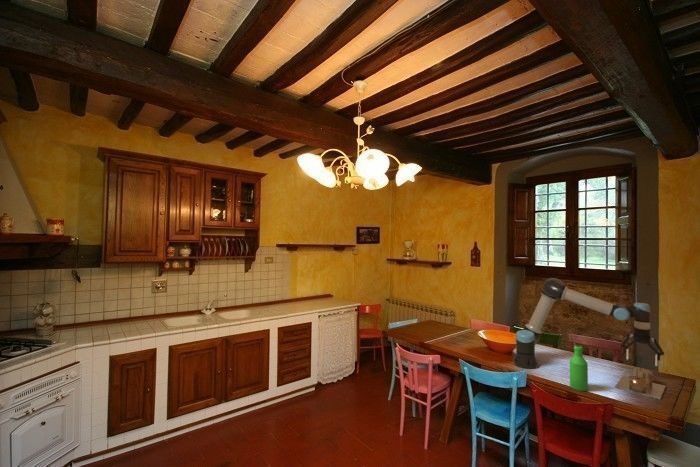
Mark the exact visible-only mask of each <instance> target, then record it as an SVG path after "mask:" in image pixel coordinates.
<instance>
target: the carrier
mask: <svg viewBox="0 0 700 467" xmlns="http://www.w3.org/2000/svg"><path fill="white" fill-rule="evenodd" d="M614 388H616V389H620V390H623V391H627V392H630V391H631V392H630V393H634V394H637V393H638V395H641V394H642V396H645V397H649V396H650V397H649V398H652V397H653V398H654V399H656V398H657V400H661V399H662V397H663V394H664V392H665V391H666V385H664V384H659V383H655V382H652V384H650V385H647V381H646V379H644V378H642V377H638V376H634V375H629V376H627V375H622V376H621V378H619V381H618V382H617V383H616V384H615V386H614Z"/></svg>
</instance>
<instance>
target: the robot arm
mask: <svg viewBox="0 0 700 467" xmlns="http://www.w3.org/2000/svg"><path fill="white" fill-rule="evenodd" d="M541 287H542V289H541V290H540V294H541V296H540V299H539V301H538V303H537V305H536V307H535V309H534V311H533V313H532V315H531V318H530V319H529V321H528V323H526V324H524V327H523V329H521V330H518V331H516V332H515V333H516V334H515V345H516V346H515V350H516V351H515V356H514V358H513V364H514V366H516V365H517V367H518V366H519V367H518V368H521V367H522V369H527V370H534V369H537V368H538V367H539V364H538V361H537V358H536V356H535V355H536V353H535V352H536V351H535V350H536V348H535V346H536V345H537V344H538V343H539V341H540V339H541V338H540V337H541V336H542V334H543V333H542V329H543V327H544V323H545V322H546V319H547V318H548V316H549V313H550V311H551V309H552V307H553V305H554V303H555V301H558V300H566V301H568V302H570V303H573V304H577V305H580V306H582V307H585V308H587V309H590V310H594V311H596V312H599V313H601V314H605V315H607V316H610V317H612V318H615V319H616V320H618V321H621V322H622V321H623V322H624V321H627V320H628V319H630V318H633V334H632V333H631V332H630V333H627V336H626V338H625V339H624V341H623V342H622V343H621V345H620V347H621V348H623V349H624V354H626V358H625V359H626V360H629V359H630V349H629V347H631V346H632V345H633V344H636V342H637V343H639V344H644V345H647V346H648V347H649V348H650V349H651V350H652V351H653V353H655V354H654V355H655V360H654V361H655V363H654V364H655V365H654V366H655V367H657V366H658V364H659V363H658V362H660V361H661V356H664V355H665V352H664V351H663V349H662V347H661V345H660V344H659V342H658V338H657V337H651V305H650V304H648V303H646V302H645V303H644V302H634V303H633V304H632V305H630V304H622V303H613V302H612V303H611V302H608V301H605V300H602V299H599V298H596V297H593V296H591V295H588V294H584V293H581V292H579V291H576V290H574V289H573V290H572V289H570V288H568V286H567V285H565V284H564V283H563V281H562V280H560V279H558V278H555V277H550V278H548V279H546V280H545V281H544V282H543V283H542V286H541ZM632 337H633V338H634V339H633V340H632V341H631V342H629V343H627V342H628V341H629V340H630V338H632ZM650 341H652V342H653V343H654V345H655V346H654V345H653V344H652V342H650ZM626 343H627V344H626ZM656 347H657V348H656Z"/></svg>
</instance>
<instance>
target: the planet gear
mask: <svg viewBox="0 0 700 467" xmlns="http://www.w3.org/2000/svg"><path fill="white" fill-rule="evenodd" d="M632 371H633V375H632V376H638V377H642V378H644V379H646V381H647V385H650V384H652V383H653V372H652V371H651V370H649V369H645V368H639V367H636V368H635V367H634V368H633V370H632Z"/></svg>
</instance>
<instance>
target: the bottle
mask: <svg viewBox="0 0 700 467" xmlns="http://www.w3.org/2000/svg"><path fill="white" fill-rule="evenodd" d="M573 349H574V355H573V356H572V357H571V358H570V359H569V386H570V387H571V388H572V389H574V390H576V391H580V392H585V391H587V390H588V389H589V383H588V382H589V374H588V373H589V372H588V371H589V368H588V365H589V364H588V362H587V361H586V359H585V358H584V357H583V350H584V348H583V346H581V345H574V346H573Z"/></svg>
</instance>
